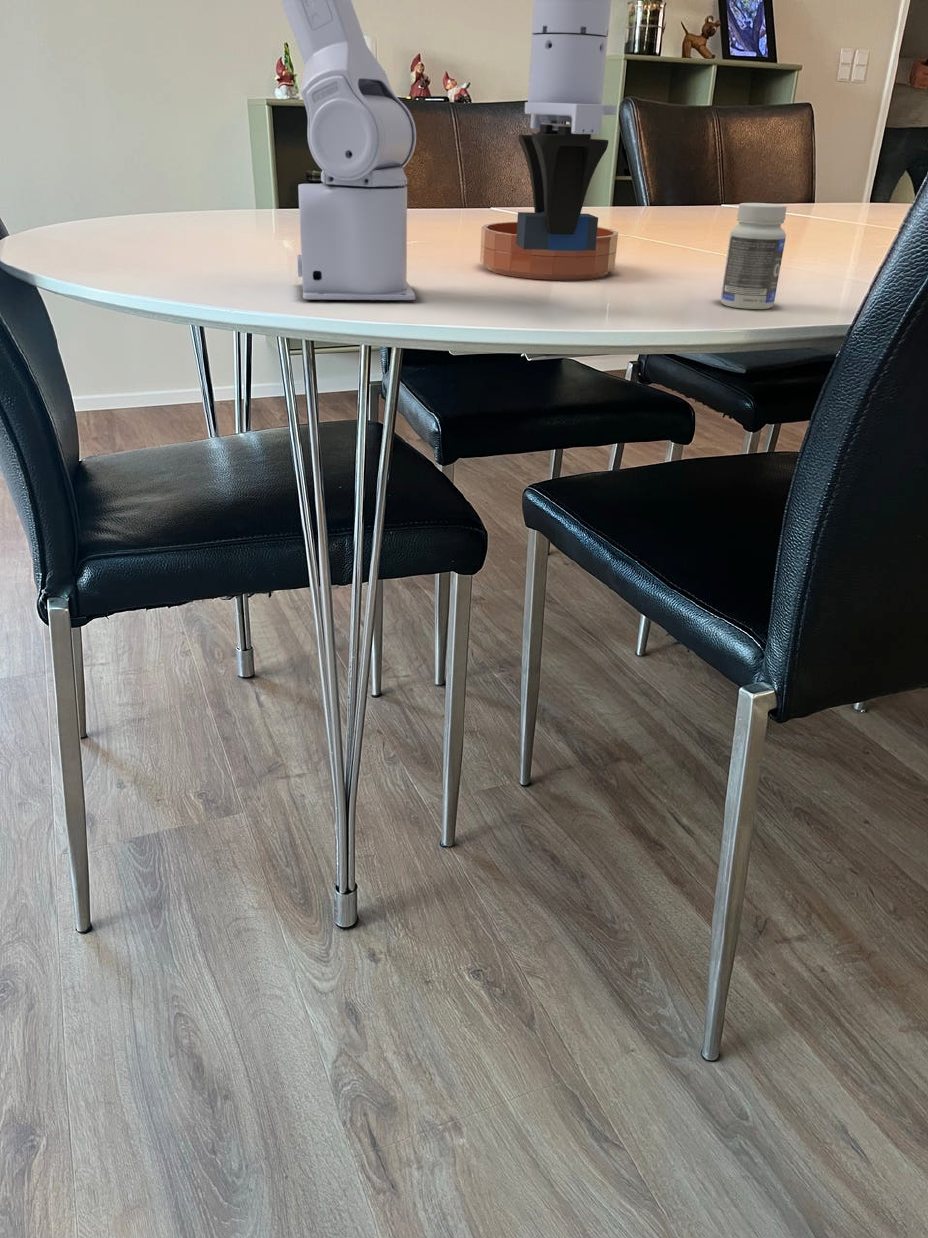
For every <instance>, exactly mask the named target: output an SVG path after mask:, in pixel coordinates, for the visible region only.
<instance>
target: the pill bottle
mask: <svg viewBox="0 0 928 1238" xmlns="http://www.w3.org/2000/svg"><path fill="white" fill-rule="evenodd" d="M786 213H787V205H786V204H779V203H770V202H769V203H767V202H766V203H765V202H742V203H741V202H740V203H739V205H738V209H737V215H736V218H737V219H736V221H737V222H738V225H736V226H734V227H733V228H732V229H731V230H730V234H729V240H728V247H727V254H726V261H725V267H724V274H723V281H722V287H721V292H720V302H721V304H722V305H724V306H726V307H730V308H736V309H744V310H746V309H747V310H767V309H771V308H772V307H773V306H774V304H775V299H776V295H777V289H778V283H779V276H780V272H781V265H782V260H783V255H784V249H785V243H786V237H787V233H786V231H785V230H784V229H783V228H782V224H784V223H785V220H786Z"/></svg>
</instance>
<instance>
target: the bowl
mask: <svg viewBox="0 0 928 1238" xmlns="http://www.w3.org/2000/svg"><path fill="white" fill-rule="evenodd" d="M480 230H481V231H480V233H481V234H480V253H479V254H480V255H479V262H480V263H481V264H482V265H483V266H486V270H488V271H489V272H492V273H495V274H498V275H502V276H507V277H515V278H522V279H531V280H542V281H543V280H544V281H584V280H594V279H600V278H603V277H606V276H607V275H608V273H609V272H612V271H614V270H615V267H616V259H617V250H618V249H617V248H618V238H619V231H617V230H614V229H612V228H611V229H610V228H607V227H602V226H598V227H597V238H596V249H595V250H586V251H549V250H530V249H522V248H521V247H519V246H518V245H516V237H517V221H503V222H493V223H487V224H483V226H481V229H480Z"/></svg>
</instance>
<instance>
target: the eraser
mask: <svg viewBox="0 0 928 1238" xmlns="http://www.w3.org/2000/svg"><path fill="white" fill-rule="evenodd" d="M516 222H517V237H516V245H518V246H519V247H521V248H522V249H530V250H549V251H586V250H595V249H596V238H597V227H599V225H598V224H599V217H598V216H595V215H593V214H590V213H584V212H583V213H582V212H581V214H580V217H579V221H578V224H577V227H576V230H575V232H574V235H563V234H548V233H547V228H546V222H545V212H542V213H535V211H533V212H529V211H527V212H525V211H518V212H517V221H516Z"/></svg>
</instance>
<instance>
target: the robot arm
mask: <svg viewBox="0 0 928 1238" xmlns="http://www.w3.org/2000/svg"><path fill="white" fill-rule="evenodd" d="M280 2H281V5H282V7H283V10H284V12H285V16H286V18H287V21H288V23H289V26H290V29H291V32H292V35H293V37H294V40H295V43H296V46H297V49H298V50H299V54H300V56H301V59H302V61H303V64H304V72H303V75H302V76H303V77H302V80H301V84H300V95H301V98H302V101H303V103H304V106H305V107H304V108H305V111H306V116H307V129H306V130H307V131H306V132H307V134H306V136H307V144H308V147H309V151H310V153H311V154H310V155H311V156H312V159H313V160H314V162H315V163H316V164H317V166H318V167H319V169H320V170H321V173H320V181H321V182H322V183H300V184H298V186H297V189H298V210H299V211H298V212H299V233H300V234H299V235H300V236H299V237H300V254H297V255H296V258H297V259H296V260H297V261H296V263H297V277H299V278H301V281H302V298H303V300H316V301H317V300H319V301H321V300H322V301H323V300H326V301H327V300H330V301H332V300H333V301H334V300H335V301H339V300H340V301H414V300H416V294H415V292H414V291H413V289H412V287H411V285H410V284H409V282H408V280H407V278H408V277H407V276H408V275H407V271H408V270H407V269H408V265H407V264H408V261H407V260H408V255H407V254H408V239H407V238H408V186H407V185H408V178H407V175H406V173H405V171H404V167H406V165H407V164H408V163H409V162H410V160H411V159H412V157H413V155H414V152H415V148H416V144H417V129H416V128H417V127H416V123H415V120H414V118H413V115H412V114H411V111H410V110H409V108H408V107H407V105H405V103H403V102H402V101H401V99H399V98H398V97H397V95H396V94H395V92H394V90H393V89H392V86H391V84H390V81H389V78H388V75H387V73H386V71H385V70H384V68H383V67H382V65H381V64H380V62H379V61H378V59H377V58H376V57H375V55H374V53H372V51H371V49H370V48H369V46H368V45H367V41H366V39H365V36H364V33H363V31H362V28H361V24H360V22H359V19H358V15H357V13H356V10H355V7H354V4H353V2H352V0H280ZM532 3H533V4H532V5H533V6H532V20H531V36H530V37H531V38H530V57H529V59H530V60H529V73H528V74H529V75H528V89H527V90H528V91H527V92H528V93H527V101H525V102H524V114H525V115H530V127H529V128H530V129H534V130H539V131H537V132H535V133H534V132H533V133H531V134H518V138H517V139H518V142H519V145H520V148H521V151H522V152H523V155H524V158H525V161H526V165H527V169H528V173H529V178H530V184H531V191H532V192H531V193H532V200H533V212H535V213H542V212H545V222H546V228H547V233H548V234H563V235H574V232H575V230H576V227H577V224H578V221H579V217H580V214H581V213H582V210H583V206H584V203H585V199H586V195H587V192H588V189H589V186H590V183H591V180H592V178H593V176H594V174H595V172H596V169H597V167H598V166H599V163H600V161H601V159H602V157H603V156H604V154H605V153H606V151H607V149H608V147H609V139H603V138H602V139H600V138H592V135H594V136H595V135H596V136H597V135H599V136H600V135H602V124H603V117H604V116H616V115H617V105H611V104H610V105H609V104H603V95H604V82H605V71H606V63H607V62H606V61H607V51H608V39H609V38H608V37H609V30H610V19H611V6H612V0H533V2H532ZM558 122H562V123H558ZM563 122H564V123H563Z"/></svg>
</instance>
